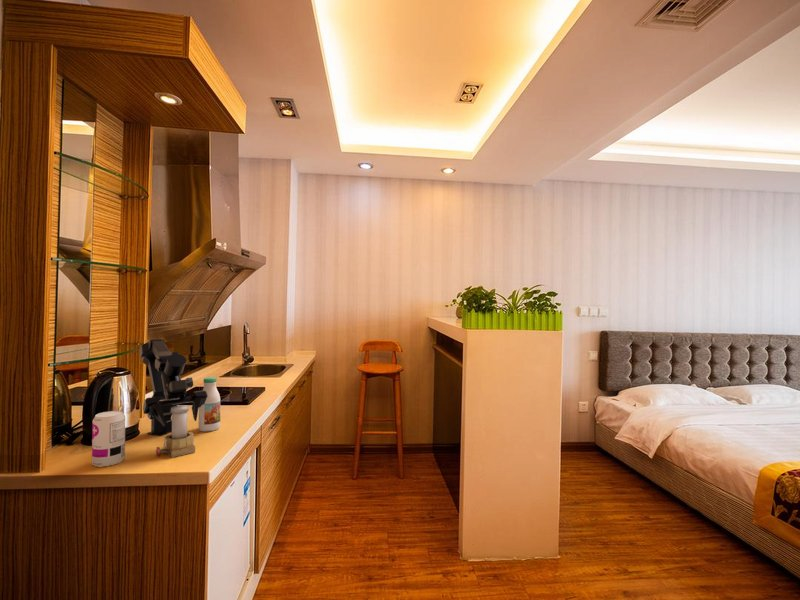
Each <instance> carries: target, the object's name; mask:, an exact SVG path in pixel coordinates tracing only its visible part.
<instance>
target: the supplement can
mask: <svg viewBox="0 0 800 600" xmlns="http://www.w3.org/2000/svg"><path fill="white" fill-rule="evenodd" d="M91 425H92V431H91V432H92V435H91V436H92V438H91V443H92V444H91V465H93V466H94V465H95V466H94V467H96V466H107V467H110V466H109V465H112V466H115V465H118V464H119V463H122V462H123V461H124V460H125V458H126V455H125V454H126V415H125V413H124V412H123V411H122V410H111V411H109V410H108V411H103V412H99V413H97V414H95V416H94V418H93V419H92V423H91ZM117 463H118V464H117ZM114 464H115V465H114Z"/></svg>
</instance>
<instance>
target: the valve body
mask: <svg viewBox="0 0 800 600" xmlns="http://www.w3.org/2000/svg"><path fill="white" fill-rule="evenodd" d="M194 435H195V434H194V433H193V432H192V431H187V437H185V438H180V439H172V433H169V434H167V435H166V436H165V437H164V442H163V448H162V449H161V447H160V446H156V447H155V454H156V456H158V457H161V453H167V454H169V455H170V456H169V455H168V456H169V457H170V458H171V459H172V457H173V458H177V457H181V455H182V456H185V454H186V455H190V454H194V453H193V452H195V453H196V445H194V443H195V442H194V441H195V440H194V439H195V436H194ZM189 453H190V454H189ZM176 456H177V457H176Z"/></svg>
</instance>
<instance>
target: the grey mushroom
mask: <svg viewBox="0 0 800 600" xmlns="http://www.w3.org/2000/svg"><path fill="white" fill-rule="evenodd" d="M189 410H190V409H189V405H186V404H185V405H184V404H183V405H182V404H179V405H177V406H174V407H171V413H172V416H171V420H172V432H171V434H172V439H180V438H185V437H187V432H188V411H189Z"/></svg>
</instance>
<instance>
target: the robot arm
mask: <svg viewBox="0 0 800 600" xmlns="http://www.w3.org/2000/svg"><path fill="white" fill-rule="evenodd" d="M138 354H139V357H140V358H141V361H142V363H143V364H144V365H145V366H147V368H148V373H149V378H150V383H151V388H152V396H150V397H146V399H144V401H143V402H144V403H143V406H142V411H143V414H144V415H147V416H146V417H147V418H148V419H149V420H151V422H150V423H151V424H150V427H151V428H150V429H151V431H149V432H147V435H151V436H152V435H153V436H161V437H162V436H163V435H164V436H165V435H166V434H167V435H168V434H170V433H172V413H171V407H174V406H178V405H182V404H186V403H187V404H188V403H191V405H192V406H191V412H192V416H193V420H194V422H197V421H198V415H199V407H201V405H203V404H205V401H206V399H207V396H208V395H207V392H206V391H204V390H203V389H202V390H196V391H193V393H192V395H190V396H189V395H188V396H186V395H187V394H188V392H187V390H189V389H190V388H192V387H194V380H193V377H186V378H185V379H182V377H181V375H182V374H183V372H184V369H185V366H186V363H187V358H186V357H185V356H184V355H182V354H180V353H179V351H170V350H169V347H168V346H167V345H166V343H165V339H164V338H152V339H149V340H148V341H147V342H145V343H144V344H141V346H140V348H139V352H138Z"/></svg>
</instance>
